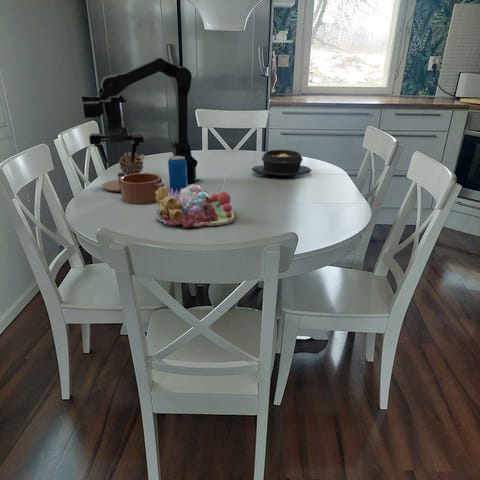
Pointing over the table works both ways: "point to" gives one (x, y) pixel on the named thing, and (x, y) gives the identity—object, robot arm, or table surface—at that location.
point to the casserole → (281, 164)
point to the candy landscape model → (193, 207)
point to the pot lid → (113, 184)
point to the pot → (140, 187)
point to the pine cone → (128, 165)
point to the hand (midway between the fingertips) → (120, 162)
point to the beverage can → (177, 173)
